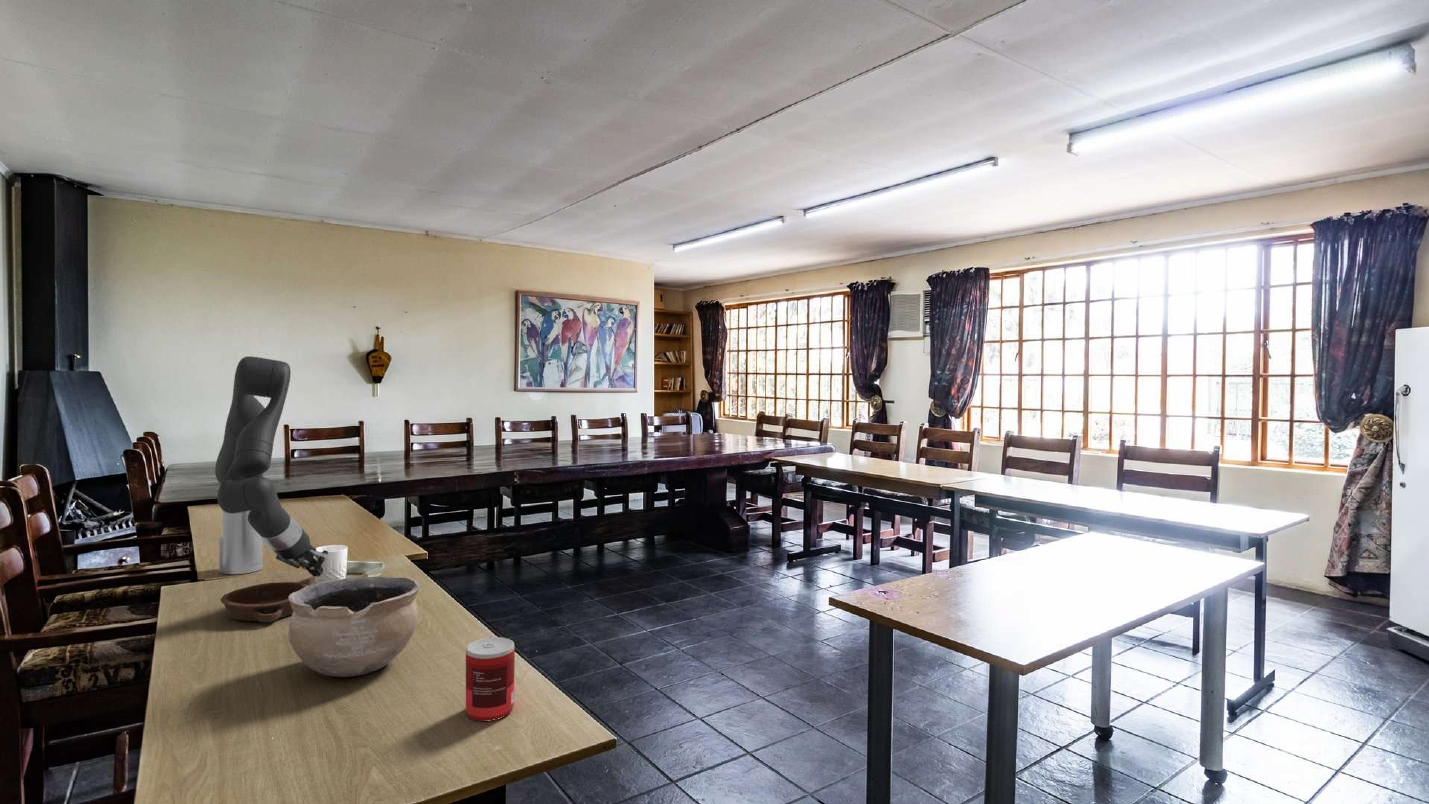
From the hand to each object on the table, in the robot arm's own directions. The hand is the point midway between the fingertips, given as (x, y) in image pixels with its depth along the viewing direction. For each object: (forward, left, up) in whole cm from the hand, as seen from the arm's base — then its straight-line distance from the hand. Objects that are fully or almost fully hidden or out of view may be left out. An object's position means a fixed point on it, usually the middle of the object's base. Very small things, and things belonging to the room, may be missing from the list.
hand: (318, 573), depth 179 cm
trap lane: (0, +7, -5) cm, 8 cm away
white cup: (0, +5, -5) cm, 7 cm away
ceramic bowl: (+36, -42, -5) cm, 56 cm away
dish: (-2, -16, -5) cm, 17 cm away
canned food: (+68, -56, -5) cm, 89 cm away
